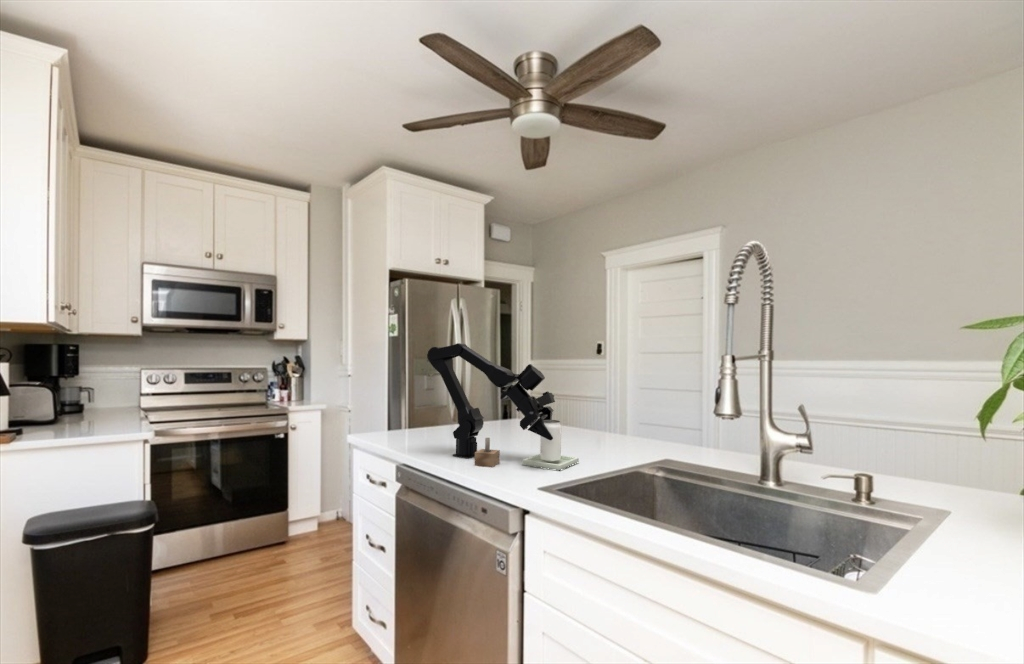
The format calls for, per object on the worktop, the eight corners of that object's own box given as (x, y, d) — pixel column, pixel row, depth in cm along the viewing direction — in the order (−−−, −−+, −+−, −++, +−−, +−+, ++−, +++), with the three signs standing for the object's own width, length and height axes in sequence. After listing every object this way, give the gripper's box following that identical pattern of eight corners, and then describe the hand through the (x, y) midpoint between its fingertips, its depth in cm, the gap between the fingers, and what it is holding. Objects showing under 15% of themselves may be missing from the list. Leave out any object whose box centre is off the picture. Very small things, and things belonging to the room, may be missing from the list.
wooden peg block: (474, 465, 150) (475, 438, 150) (481, 461, 155) (482, 435, 156) (492, 467, 148) (493, 440, 148) (499, 463, 153) (499, 437, 154)
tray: (522, 465, 151) (522, 459, 151) (542, 457, 162) (542, 453, 162) (560, 471, 144) (560, 465, 144) (578, 463, 155) (578, 458, 155)
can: (548, 456, 158) (548, 419, 158) (564, 459, 154) (565, 421, 154) (536, 459, 153) (536, 421, 153) (553, 462, 149) (553, 423, 149)
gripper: (530, 385, 147) (565, 424, 142) (548, 381, 164) (579, 417, 160) (505, 409, 149) (539, 449, 145) (525, 404, 167) (555, 439, 162)
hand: (554, 437), depth 153 cm, fingers closed on can, 6 cm apart
